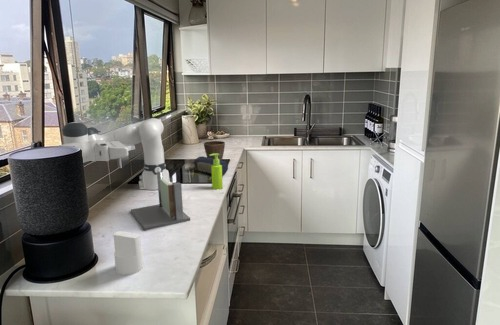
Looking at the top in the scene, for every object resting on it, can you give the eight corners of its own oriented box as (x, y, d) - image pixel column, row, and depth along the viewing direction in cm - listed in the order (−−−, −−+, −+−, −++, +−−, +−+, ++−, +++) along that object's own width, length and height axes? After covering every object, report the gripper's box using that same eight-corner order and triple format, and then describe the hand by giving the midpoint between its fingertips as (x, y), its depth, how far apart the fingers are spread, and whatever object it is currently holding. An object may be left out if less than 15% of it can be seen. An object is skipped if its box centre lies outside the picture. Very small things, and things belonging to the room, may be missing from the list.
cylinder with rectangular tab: (110, 272, 118) (106, 238, 116) (128, 259, 127) (125, 227, 124) (132, 277, 115) (129, 242, 112) (149, 263, 123) (146, 231, 121)
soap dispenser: (209, 187, 206) (207, 153, 202) (220, 186, 209) (219, 152, 204) (212, 190, 201) (210, 155, 196) (224, 188, 204) (222, 154, 199)
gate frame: (130, 211, 171) (127, 174, 167) (171, 204, 181) (169, 168, 176) (144, 230, 150) (141, 188, 146) (190, 220, 160) (188, 180, 155)
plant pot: (216, 168, 249) (216, 145, 245) (200, 165, 257) (199, 143, 253) (229, 163, 261) (229, 142, 257) (213, 161, 269) (212, 140, 265)
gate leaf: (161, 206, 173) (159, 177, 169) (164, 205, 173) (162, 176, 170) (171, 217, 159) (169, 185, 156) (174, 216, 160) (172, 185, 156)
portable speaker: (192, 171, 242) (191, 157, 240) (203, 168, 249) (202, 154, 247) (219, 177, 226) (218, 162, 224) (229, 174, 234) (229, 159, 231)
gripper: (97, 153, 162) (129, 150, 169) (105, 162, 145) (140, 158, 152) (96, 139, 161) (128, 136, 167) (104, 146, 143) (139, 143, 150)
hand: (134, 146), depth 159 cm, fingers closed
